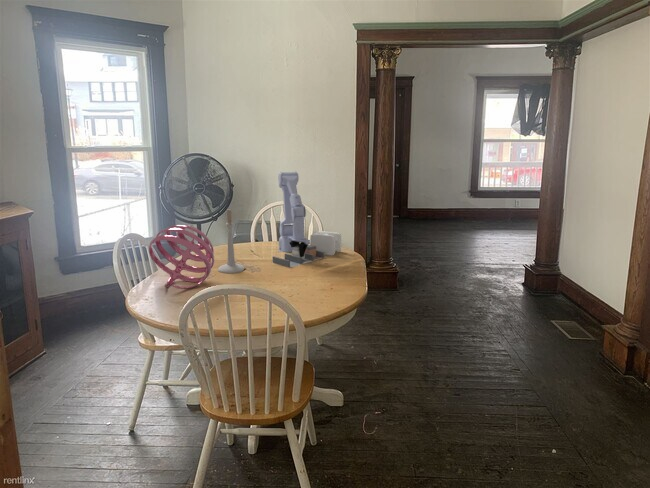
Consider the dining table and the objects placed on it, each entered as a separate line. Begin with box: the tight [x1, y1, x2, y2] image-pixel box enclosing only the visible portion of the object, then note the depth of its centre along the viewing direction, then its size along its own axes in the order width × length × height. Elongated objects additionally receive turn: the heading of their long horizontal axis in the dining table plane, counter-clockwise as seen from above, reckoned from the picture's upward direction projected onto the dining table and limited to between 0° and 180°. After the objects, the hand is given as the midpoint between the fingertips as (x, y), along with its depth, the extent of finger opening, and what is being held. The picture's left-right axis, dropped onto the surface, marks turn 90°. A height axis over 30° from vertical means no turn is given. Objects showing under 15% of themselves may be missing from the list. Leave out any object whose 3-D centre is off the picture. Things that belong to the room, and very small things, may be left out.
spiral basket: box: [148, 224, 215, 290], centre depth 217 cm, size 28×28×27 cm
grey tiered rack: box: [272, 250, 325, 268], centre depth 257 cm, size 14×25×4 cm, turn 136°
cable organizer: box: [309, 230, 342, 256], centre depth 272 cm, size 15×11×12 cm
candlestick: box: [217, 208, 246, 274], centre depth 240 cm, size 13×13×30 cm
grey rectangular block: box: [291, 246, 305, 259], centre depth 256 cm, size 4×5×6 cm
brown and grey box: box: [305, 244, 316, 258], centre depth 262 cm, size 4×5×6 cm
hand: (298, 255), depth 257 cm, fingers closed on grey rectangular block, 4 cm apart
